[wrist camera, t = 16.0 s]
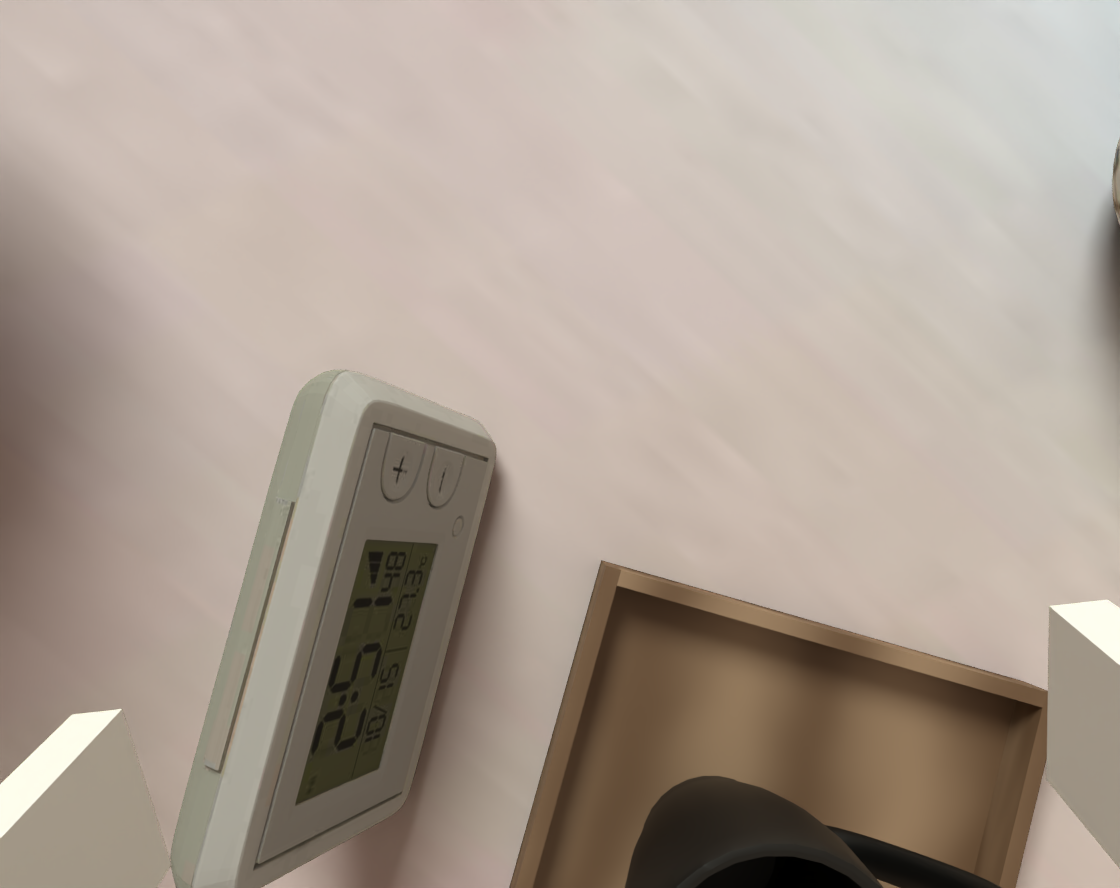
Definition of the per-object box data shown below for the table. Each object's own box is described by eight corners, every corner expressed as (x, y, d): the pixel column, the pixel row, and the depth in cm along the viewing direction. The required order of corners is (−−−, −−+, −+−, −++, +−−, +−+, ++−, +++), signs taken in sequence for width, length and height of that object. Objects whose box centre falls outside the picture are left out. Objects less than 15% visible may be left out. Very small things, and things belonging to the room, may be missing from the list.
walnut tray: (477, 1000, 33) (472, 1042, 30) (601, 560, 34) (605, 565, 31) (914, 1125, 33) (944, 1177, 30) (1023, 681, 34) (1061, 696, 31)
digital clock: (391, 829, 33) (318, 988, 22) (189, 731, 33) (22, 842, 23) (566, 465, 34) (576, 452, 23) (370, 370, 34) (292, 315, 24)
